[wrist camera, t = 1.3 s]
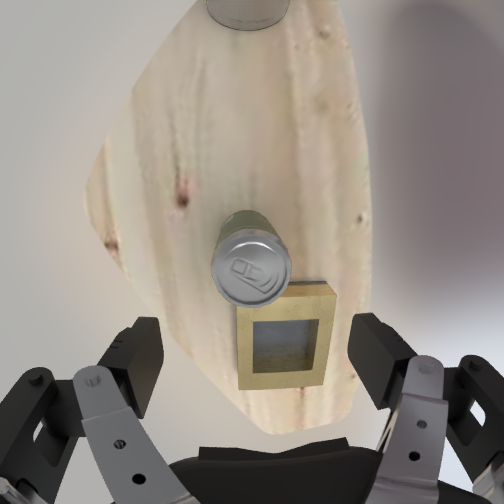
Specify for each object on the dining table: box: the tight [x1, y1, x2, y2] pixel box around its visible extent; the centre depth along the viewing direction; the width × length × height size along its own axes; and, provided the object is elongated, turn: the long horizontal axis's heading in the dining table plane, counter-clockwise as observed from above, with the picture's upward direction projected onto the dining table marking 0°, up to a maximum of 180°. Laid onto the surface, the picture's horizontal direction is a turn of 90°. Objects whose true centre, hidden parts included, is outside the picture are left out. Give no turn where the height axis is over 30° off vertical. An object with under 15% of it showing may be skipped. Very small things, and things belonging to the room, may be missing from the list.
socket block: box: [237, 281, 337, 390], centre depth 30 cm, size 12×10×4 cm
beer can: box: [211, 211, 291, 308], centre depth 24 cm, size 5×5×12 cm
